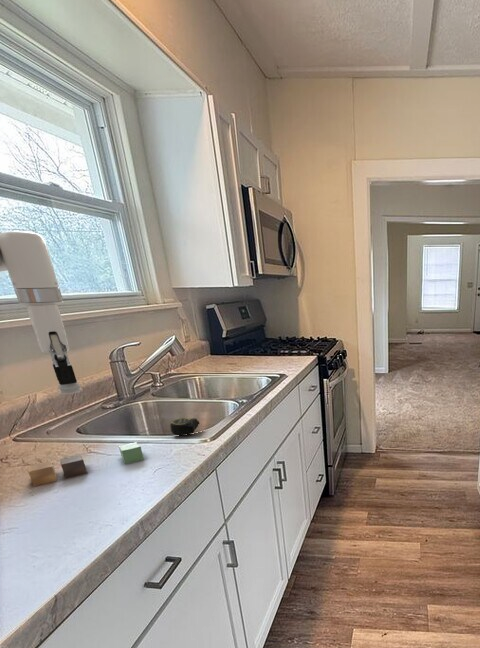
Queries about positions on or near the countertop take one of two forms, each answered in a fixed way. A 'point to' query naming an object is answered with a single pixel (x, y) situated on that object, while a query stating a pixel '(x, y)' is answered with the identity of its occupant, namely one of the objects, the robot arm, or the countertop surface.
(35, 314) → the robot arm
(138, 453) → the sage block
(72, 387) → the rook chess piece
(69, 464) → the walnut block
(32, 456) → the countertop surface
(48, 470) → the maple block
